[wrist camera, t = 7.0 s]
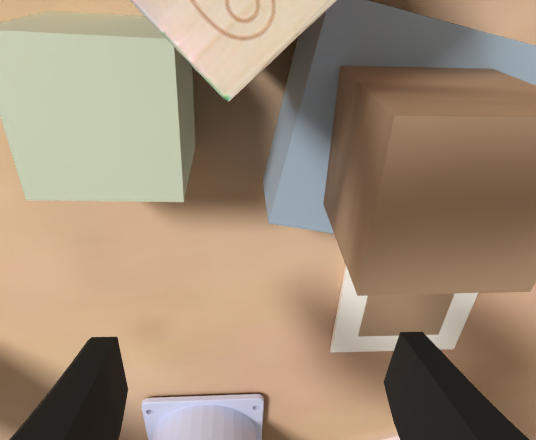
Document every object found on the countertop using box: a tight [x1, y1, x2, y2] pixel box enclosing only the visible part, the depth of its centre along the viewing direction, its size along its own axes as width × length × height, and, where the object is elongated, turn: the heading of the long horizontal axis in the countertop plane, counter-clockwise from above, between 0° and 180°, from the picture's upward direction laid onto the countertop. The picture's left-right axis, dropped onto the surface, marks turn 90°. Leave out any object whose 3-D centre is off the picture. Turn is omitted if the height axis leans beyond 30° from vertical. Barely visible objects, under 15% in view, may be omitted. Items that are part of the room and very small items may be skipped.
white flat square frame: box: [330, 265, 478, 353], centre depth 23 cm, size 8×8×1 cm
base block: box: [263, 0, 536, 234], centre depth 16 cm, size 8×8×4 cm
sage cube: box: [0, 11, 196, 202], centre depth 14 cm, size 5×5×5 cm
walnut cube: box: [323, 66, 536, 296], centre depth 12 cm, size 5×5×5 cm
